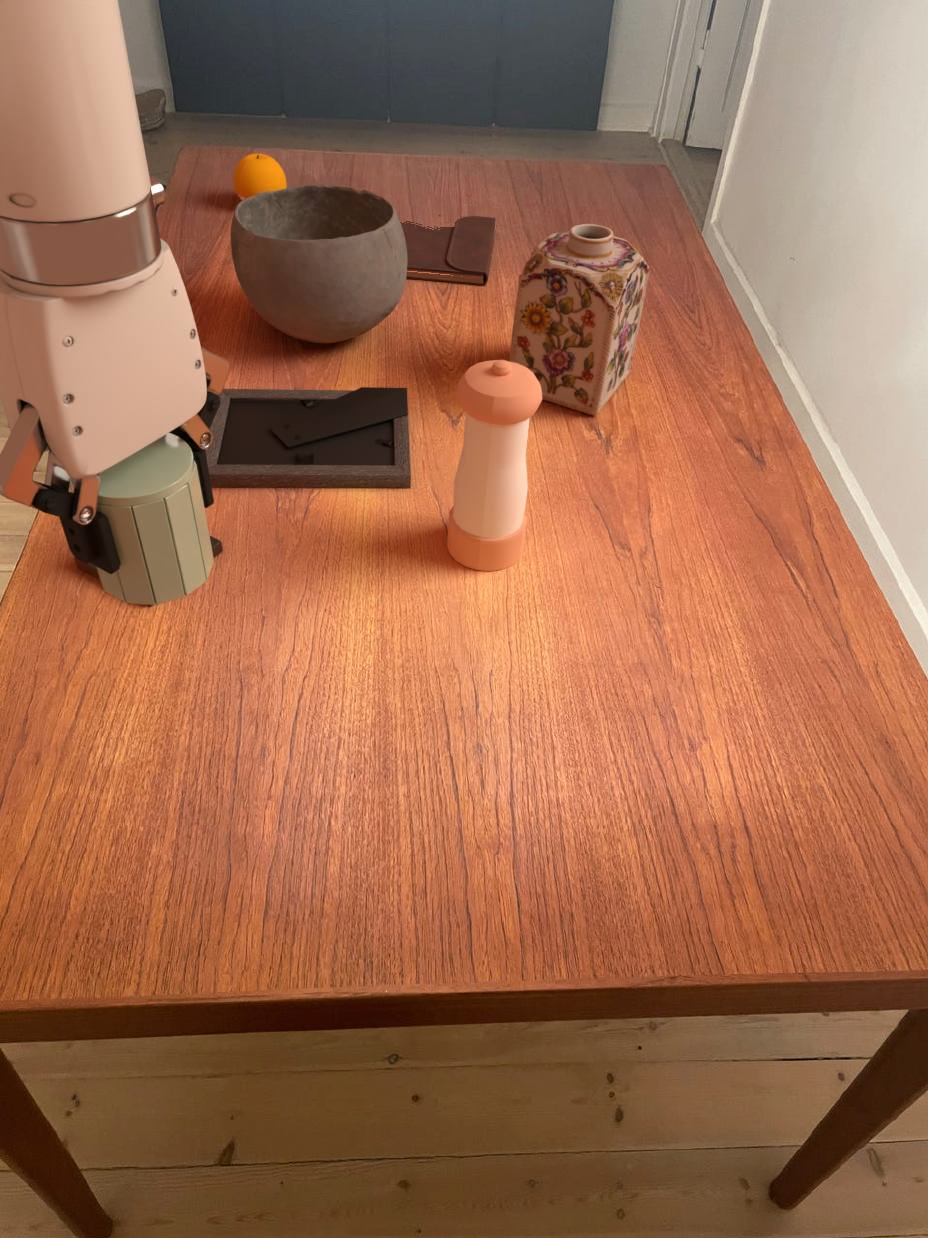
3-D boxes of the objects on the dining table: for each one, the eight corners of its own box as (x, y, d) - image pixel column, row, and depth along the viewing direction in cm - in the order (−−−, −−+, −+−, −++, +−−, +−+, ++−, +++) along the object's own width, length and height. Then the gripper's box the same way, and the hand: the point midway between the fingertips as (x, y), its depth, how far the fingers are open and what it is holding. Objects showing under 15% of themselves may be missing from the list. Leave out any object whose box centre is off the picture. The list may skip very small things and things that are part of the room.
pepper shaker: (486, 512, 90) (503, 331, 76) (539, 549, 86) (566, 366, 73) (431, 542, 86) (438, 357, 73) (483, 582, 82) (501, 396, 69)
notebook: (379, 275, 126) (379, 261, 125) (399, 221, 140) (399, 208, 139) (487, 285, 126) (488, 271, 124) (496, 230, 140) (497, 216, 138)
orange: (277, 193, 146) (272, 142, 140) (296, 210, 141) (292, 159, 136) (228, 199, 143) (222, 148, 137) (246, 218, 138) (240, 166, 133)
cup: (155, 620, 54) (128, 513, 48) (43, 556, 57) (5, 449, 52) (235, 559, 58) (218, 454, 52) (125, 503, 61) (99, 399, 56)
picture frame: (406, 403, 103) (218, 401, 101) (406, 387, 102) (215, 384, 100) (410, 487, 92) (198, 487, 90) (411, 471, 90) (195, 470, 89)
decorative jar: (596, 419, 103) (624, 263, 90) (504, 390, 106) (518, 236, 94) (631, 374, 111) (662, 224, 98) (544, 348, 114) (563, 200, 101)
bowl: (431, 313, 119) (435, 194, 109) (363, 386, 105) (360, 258, 95) (292, 280, 124) (283, 163, 113) (209, 346, 110) (190, 219, 99)
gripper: (156, 165, 49) (203, 443, 62) (-151, 272, 38) (-18, 583, 51) (261, 199, 47) (289, 483, 59) (-36, 325, 36) (75, 639, 48)
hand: (147, 527), depth 55 cm, fingers closed on cup, 6 cm apart
